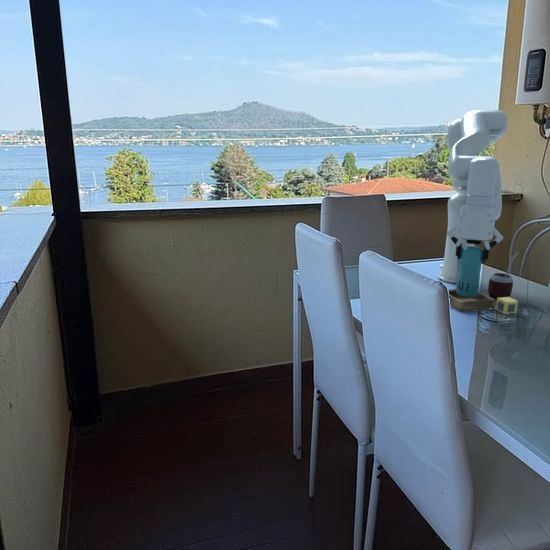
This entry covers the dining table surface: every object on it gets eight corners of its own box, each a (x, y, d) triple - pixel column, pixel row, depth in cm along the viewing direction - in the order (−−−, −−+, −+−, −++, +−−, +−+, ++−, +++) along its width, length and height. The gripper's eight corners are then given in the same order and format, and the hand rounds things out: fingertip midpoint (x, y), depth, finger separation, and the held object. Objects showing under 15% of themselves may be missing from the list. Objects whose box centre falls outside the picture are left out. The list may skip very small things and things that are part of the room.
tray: (438, 299, 149) (439, 290, 148) (469, 296, 152) (471, 287, 151) (460, 312, 138) (461, 302, 137) (493, 308, 141) (495, 299, 140)
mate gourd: (486, 300, 148) (492, 255, 144) (487, 293, 155) (493, 250, 151) (512, 304, 145) (519, 258, 141) (511, 296, 152) (518, 252, 148)
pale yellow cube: (495, 310, 140) (497, 297, 139) (506, 309, 141) (508, 296, 140) (504, 315, 137) (506, 302, 135) (516, 313, 137) (518, 301, 136)
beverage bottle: (476, 296, 147) (485, 234, 141) (478, 303, 141) (487, 239, 135) (454, 293, 149) (462, 233, 143) (455, 300, 143) (463, 237, 137)
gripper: (446, 200, 137) (439, 259, 142) (511, 205, 129) (501, 266, 134) (449, 197, 143) (443, 253, 148) (512, 201, 135) (503, 260, 140)
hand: (471, 259), depth 141 cm, fingers closed on beverage bottle, 6 cm apart
